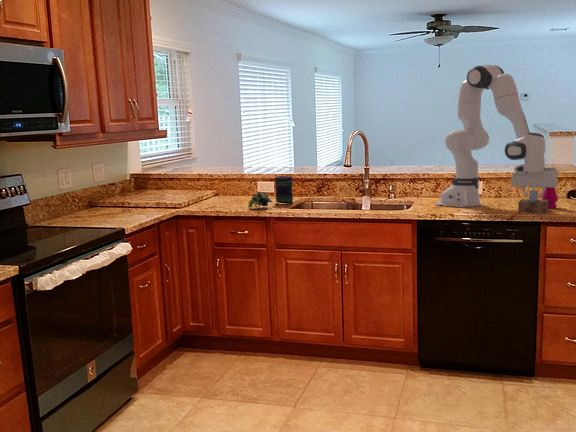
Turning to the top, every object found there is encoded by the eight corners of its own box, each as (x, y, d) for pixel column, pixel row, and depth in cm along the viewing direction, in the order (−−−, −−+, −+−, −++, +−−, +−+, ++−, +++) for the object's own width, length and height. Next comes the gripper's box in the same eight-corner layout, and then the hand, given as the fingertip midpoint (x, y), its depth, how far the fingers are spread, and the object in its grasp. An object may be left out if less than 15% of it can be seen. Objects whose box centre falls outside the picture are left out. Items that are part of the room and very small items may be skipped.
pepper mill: (559, 208, 290) (560, 167, 287) (543, 209, 292) (544, 167, 288) (555, 206, 297) (557, 166, 294) (540, 206, 299) (541, 166, 295)
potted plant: (263, 217, 333) (275, 199, 332) (259, 217, 322) (271, 198, 321) (247, 205, 335) (259, 187, 334) (242, 205, 324) (254, 186, 323)
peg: (529, 210, 289) (530, 189, 288) (537, 210, 288) (538, 190, 286) (528, 211, 286) (529, 190, 285) (536, 212, 284) (537, 191, 283)
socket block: (518, 212, 286) (518, 201, 285) (521, 209, 294) (521, 198, 293) (545, 213, 280) (545, 202, 279) (547, 210, 288) (548, 199, 288)
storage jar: (282, 201, 351) (281, 176, 349) (296, 202, 346) (295, 176, 343) (272, 204, 344) (271, 178, 341) (286, 204, 338) (285, 178, 335)
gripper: (559, 167, 281) (558, 196, 283) (513, 166, 291) (512, 194, 293) (557, 168, 276) (556, 198, 278) (510, 167, 286) (510, 196, 288)
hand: (533, 196), depth 286 cm, fingers open, 5 cm apart
